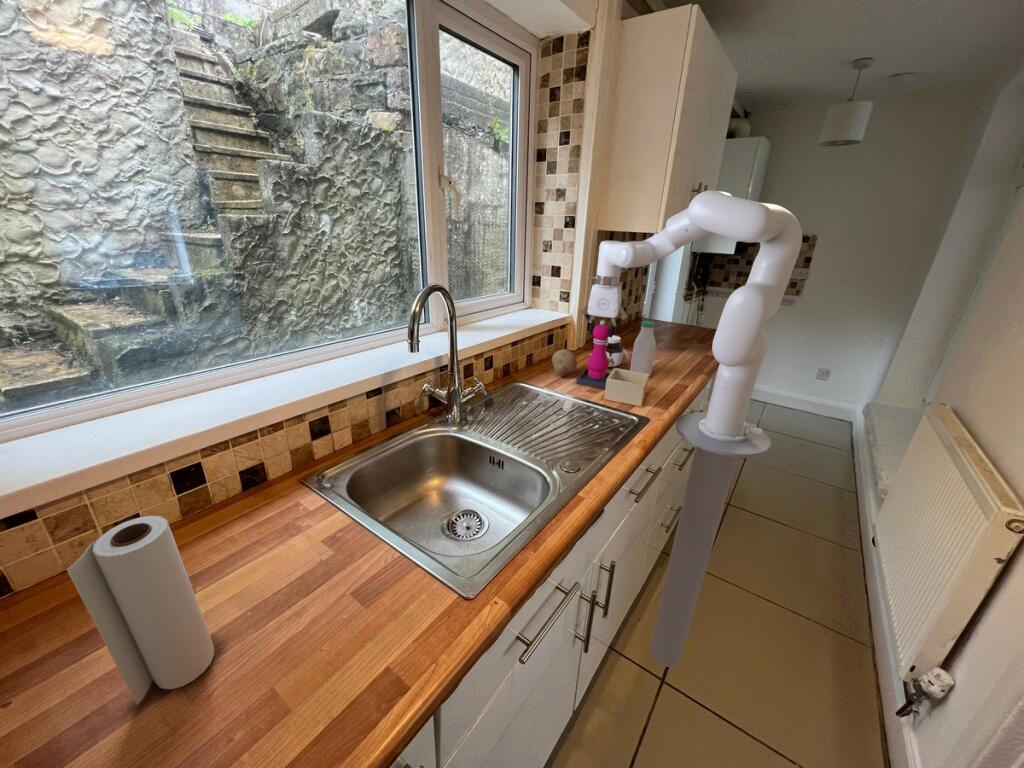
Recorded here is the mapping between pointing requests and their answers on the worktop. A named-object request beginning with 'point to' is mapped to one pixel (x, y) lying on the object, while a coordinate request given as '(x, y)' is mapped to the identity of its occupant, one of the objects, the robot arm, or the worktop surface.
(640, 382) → the open box
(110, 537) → the paper towel roll
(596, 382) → the tray
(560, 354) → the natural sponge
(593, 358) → the pepper mill
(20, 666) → the worktop surface
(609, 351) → the spread jar
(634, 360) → the milk bottle
